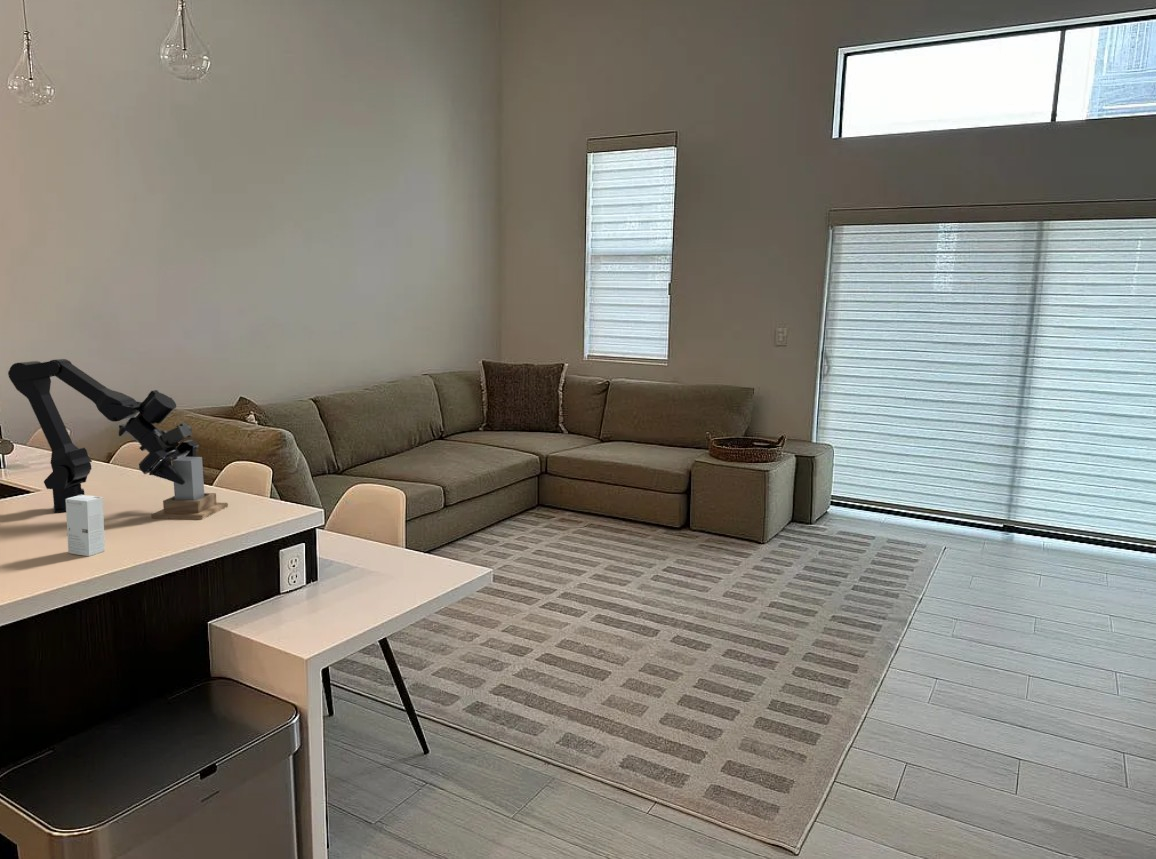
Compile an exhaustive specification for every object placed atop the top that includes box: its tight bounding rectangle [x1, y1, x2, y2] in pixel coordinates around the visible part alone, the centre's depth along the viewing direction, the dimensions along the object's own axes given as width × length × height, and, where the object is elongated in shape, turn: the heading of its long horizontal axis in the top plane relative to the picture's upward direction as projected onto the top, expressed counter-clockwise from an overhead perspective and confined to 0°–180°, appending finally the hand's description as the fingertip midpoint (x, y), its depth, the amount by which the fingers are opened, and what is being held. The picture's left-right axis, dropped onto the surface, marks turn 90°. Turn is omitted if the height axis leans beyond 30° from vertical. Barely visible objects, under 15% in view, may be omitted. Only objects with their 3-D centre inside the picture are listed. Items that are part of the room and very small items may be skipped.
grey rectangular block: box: [171, 456, 205, 501], centre depth 206 cm, size 5×5×13 cm
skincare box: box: [65, 494, 106, 557], centre depth 173 cm, size 6×4×12 cm
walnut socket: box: [151, 492, 229, 520], centre depth 207 cm, size 13×13×4 cm
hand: (193, 479), depth 206 cm, fingers open, 9 cm apart
